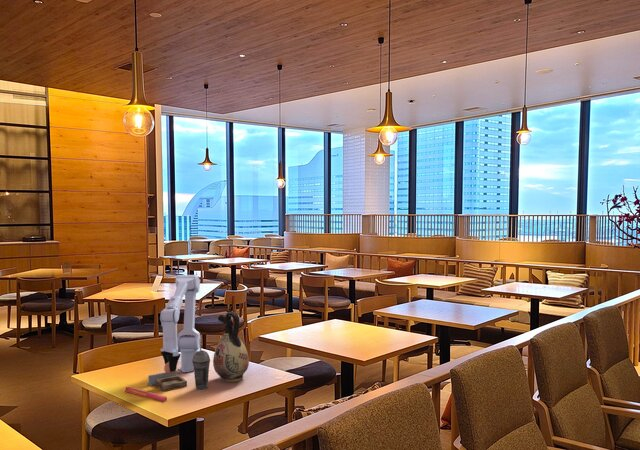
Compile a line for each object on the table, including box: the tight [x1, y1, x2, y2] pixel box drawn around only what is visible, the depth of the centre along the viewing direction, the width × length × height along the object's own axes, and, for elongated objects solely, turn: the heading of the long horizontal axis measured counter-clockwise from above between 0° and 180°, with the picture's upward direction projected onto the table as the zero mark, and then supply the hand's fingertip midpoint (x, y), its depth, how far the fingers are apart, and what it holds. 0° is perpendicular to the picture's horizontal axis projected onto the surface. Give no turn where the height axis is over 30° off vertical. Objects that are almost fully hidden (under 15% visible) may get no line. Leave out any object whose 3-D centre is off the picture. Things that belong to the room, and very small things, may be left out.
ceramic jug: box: [212, 311, 250, 383], centre depth 212 cm, size 17×15×30 cm
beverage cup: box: [192, 338, 211, 391], centre depth 201 cm, size 7×7×20 cm
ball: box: [163, 363, 178, 374], centre depth 205 cm, size 5×5×5 cm
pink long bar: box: [125, 386, 168, 402], centre depth 194 cm, size 24×2×5 cm
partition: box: [147, 369, 178, 387], centre depth 210 cm, size 12×3×4 cm, turn 124°
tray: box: [155, 374, 188, 392], centre depth 206 cm, size 10×10×2 cm
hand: (170, 369), depth 205 cm, fingers closed on ball, 5 cm apart
